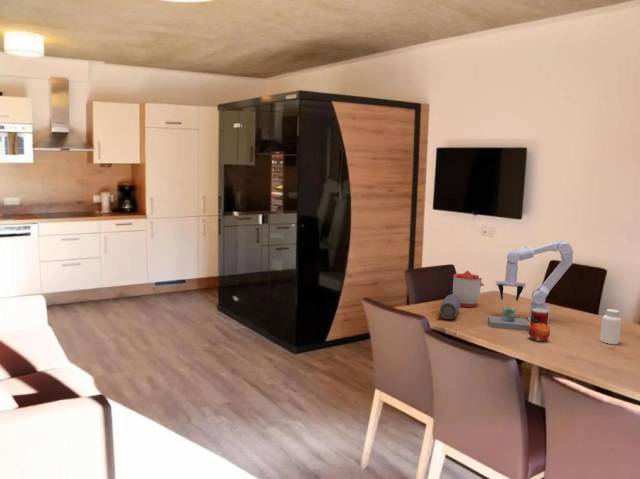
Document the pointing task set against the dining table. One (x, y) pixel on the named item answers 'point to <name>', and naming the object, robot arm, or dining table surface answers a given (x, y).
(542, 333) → the tomato
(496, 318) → the base board
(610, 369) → the dining table surface
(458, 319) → the dining table surface
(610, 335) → the pill bottle
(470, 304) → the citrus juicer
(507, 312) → the teal block
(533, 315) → the canned food
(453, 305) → the bluetooth speaker
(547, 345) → the dining table surface
